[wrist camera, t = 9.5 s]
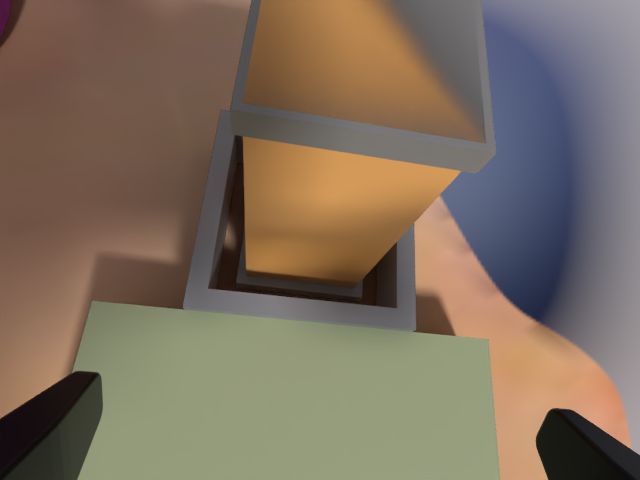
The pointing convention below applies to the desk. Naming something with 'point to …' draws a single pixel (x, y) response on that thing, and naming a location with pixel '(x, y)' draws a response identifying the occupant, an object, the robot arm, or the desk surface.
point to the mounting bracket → (4, 14)
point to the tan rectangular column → (352, 131)
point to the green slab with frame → (284, 377)
